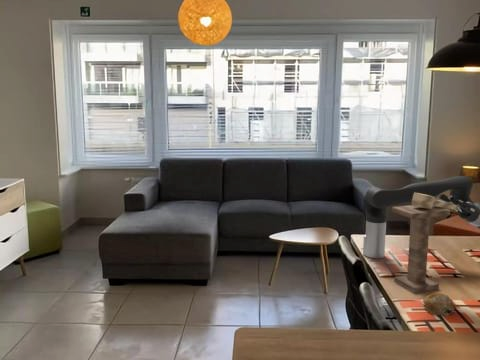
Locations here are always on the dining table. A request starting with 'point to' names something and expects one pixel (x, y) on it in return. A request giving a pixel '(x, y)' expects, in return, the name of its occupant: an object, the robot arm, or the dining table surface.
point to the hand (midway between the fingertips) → (445, 196)
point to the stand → (418, 246)
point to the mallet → (430, 202)
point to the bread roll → (439, 304)
